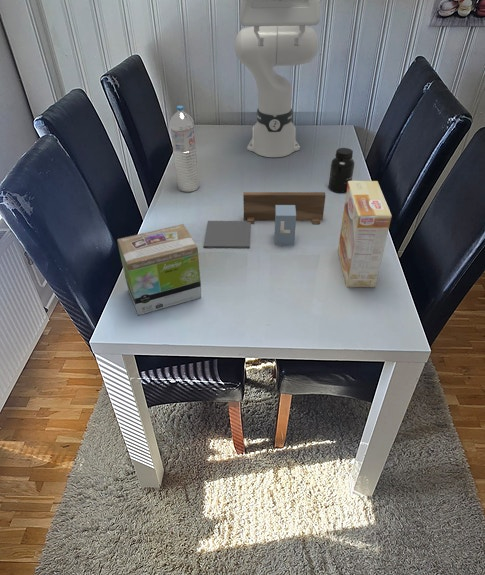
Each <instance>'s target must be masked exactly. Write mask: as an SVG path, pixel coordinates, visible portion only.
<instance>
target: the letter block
mask: <svg viewBox="0 0 485 575" xmlns="http://www.w3.org/2000/svg"><path fill="white" fill-rule="evenodd" d="M296 224H297V221H296V208H295V205H276V207H275V221H274V246H295V238H296Z"/></svg>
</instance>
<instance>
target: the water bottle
mask: <svg viewBox="0 0 485 575" xmlns="http://www.w3.org/2000/svg"><path fill="white" fill-rule="evenodd" d="M184 107H185V106H183V105H181V104H180V105H177V106H176V110H177V111H176V112H175V113H174V114H173V115H172V116H171V119H170V120H169V128H170V132H171V141H172V153H173V161H174V166H175V176H176V184H177V188H178V190H179V191H181V192H184V193H192V192H195V191H196V190H199V187H200V179H199V178H200V176H199V166H198V154H197V147H196V137H195V122H194V119H193V117H192V116H191V115H190V114H188V112H186V111H184V110H185V109H184Z"/></svg>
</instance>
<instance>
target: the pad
mask: <svg viewBox="0 0 485 575" xmlns="http://www.w3.org/2000/svg"><path fill="white" fill-rule="evenodd" d="M251 227H252V224H251V222H247V220H208V221H207V224H206V230H205V235H204V240H203V249H250V248H251V231H252V230H251Z"/></svg>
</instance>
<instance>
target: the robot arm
mask: <svg viewBox="0 0 485 575" xmlns="http://www.w3.org/2000/svg"><path fill="white" fill-rule="evenodd" d="M321 1H322V0H241V3H240V12H239V13H240V14H239V23H240V25H241V26H242V27H245V28H241V29H240V30H239V32H238V33H237V35H236V37H235V40H234V51H235V55H236V58H237V59H238V60H239V62H240V63H241V64H242V65H244V66H245V67H246V68H247V69H248V70H249V72H250V73H251V74H252V76H253V78H254V81H255V83H256V88H257V96H258V97H257V99H258V100H257V101H258V105H257V106H258V108H257V109H256V123H255V124H253V125H252V128H251V132H252V136H251V139H250V141H249V143H248V144H247V146H246V147H247V148H246V149H247V151H250V152H253V153H255V154H256V155H259V156H261V157H266V158H282V157H286V156H289V155H290V154H293V153H294V152H297V151H300V149H301V146H300V144H299V143H298V141H297V140H296V130H297V129H296V126H295V124H294V123H293V121H292V120H293V109H292V100H293V99H292V96H293V86H292V84H291V82H290V81H289V79H287V78H286V77H285V76H282V75H280V74H278V73H277V72H276V71H275V69H274V67H275V66H277V67H279V66H281V67H282V66H285V67H287V66H300V65H305V64H309V63H312V61H313V60H314V59H315V58H316V56H317V54H318V51H319V37H318V35H317V33H316V32H317V31H315V29H314V28H313V26H317V25H318V24H319V23H320V21H321V19H320V18H321V6H320V5H321V4H320V3H321ZM311 26H312V27H311Z"/></svg>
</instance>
